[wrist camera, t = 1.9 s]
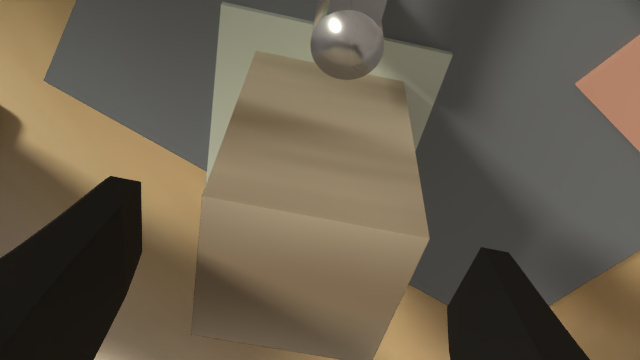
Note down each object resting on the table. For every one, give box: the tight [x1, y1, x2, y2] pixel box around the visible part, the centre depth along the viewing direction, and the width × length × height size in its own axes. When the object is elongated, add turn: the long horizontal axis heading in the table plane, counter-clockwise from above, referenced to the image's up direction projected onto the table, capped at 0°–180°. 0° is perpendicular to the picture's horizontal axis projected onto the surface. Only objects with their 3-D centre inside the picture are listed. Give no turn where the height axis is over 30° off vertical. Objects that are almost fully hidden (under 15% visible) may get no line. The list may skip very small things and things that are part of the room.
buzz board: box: [44, 0, 640, 306], centre depth 14 cm, size 16×18×1 cm
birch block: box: [191, 50, 430, 360], centre depth 12 cm, size 4×4×6 cm
